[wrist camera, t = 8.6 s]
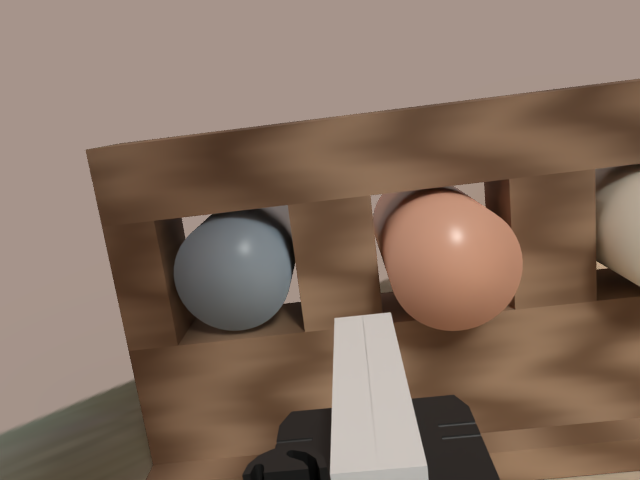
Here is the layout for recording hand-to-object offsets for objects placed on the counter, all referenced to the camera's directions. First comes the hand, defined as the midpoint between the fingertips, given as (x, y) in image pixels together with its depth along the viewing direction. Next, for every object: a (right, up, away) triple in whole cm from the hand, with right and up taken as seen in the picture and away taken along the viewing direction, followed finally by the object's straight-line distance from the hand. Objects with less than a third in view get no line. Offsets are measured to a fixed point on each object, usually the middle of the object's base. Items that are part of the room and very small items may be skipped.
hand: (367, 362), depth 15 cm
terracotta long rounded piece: (+4, +1, +11) cm, 12 cm away
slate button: (-5, 0, +14) cm, 15 cm away
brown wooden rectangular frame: (+5, -7, +13) cm, 15 cm away
